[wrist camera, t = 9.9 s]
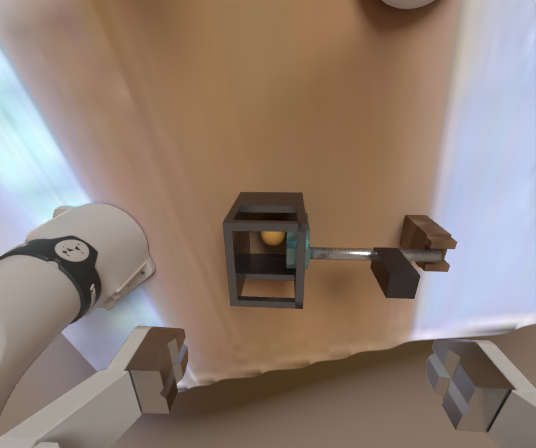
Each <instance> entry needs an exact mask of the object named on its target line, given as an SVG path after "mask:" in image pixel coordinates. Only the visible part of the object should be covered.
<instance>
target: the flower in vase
mask: <svg viewBox="0 0 536 448" xmlns="http://www.w3.org/2000/svg"><path fill="white" fill-rule="evenodd" d="M382 1H383V2H384V3H386V4H388V5H390V6H392V7H395V8H400V9H413V8H418V7H422V6H424V5H427V4H429V3H431V2H433V1H435V0H382Z"/></svg>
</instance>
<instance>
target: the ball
mask: <svg viewBox="0 0 536 448" xmlns="http://www.w3.org/2000/svg"><path fill="white" fill-rule="evenodd" d="M271 221H275V220H271ZM285 237H286V232H267V231H261V238H262V240H263V241H264V242H265V243H266V244H268V245H270V246H276V245H279V244H281V243H282V242H283V241H284V239H285Z"/></svg>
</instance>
